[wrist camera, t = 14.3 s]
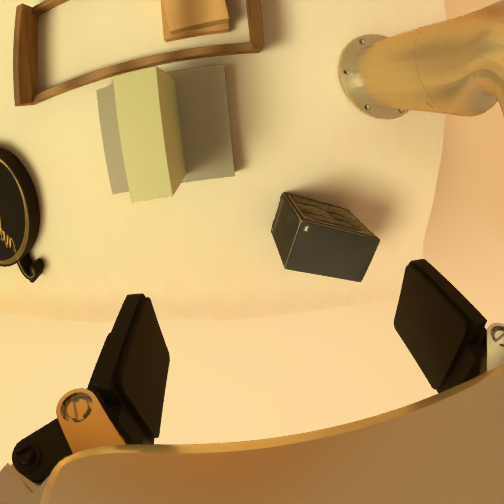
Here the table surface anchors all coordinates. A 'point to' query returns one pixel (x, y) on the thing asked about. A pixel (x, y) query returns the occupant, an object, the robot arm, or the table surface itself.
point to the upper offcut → (194, 14)
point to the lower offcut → (193, 33)
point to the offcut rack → (28, 74)
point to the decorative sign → (18, 216)
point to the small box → (322, 239)
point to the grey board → (181, 127)
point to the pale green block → (149, 133)
